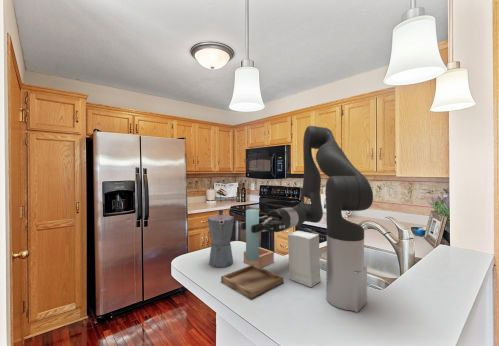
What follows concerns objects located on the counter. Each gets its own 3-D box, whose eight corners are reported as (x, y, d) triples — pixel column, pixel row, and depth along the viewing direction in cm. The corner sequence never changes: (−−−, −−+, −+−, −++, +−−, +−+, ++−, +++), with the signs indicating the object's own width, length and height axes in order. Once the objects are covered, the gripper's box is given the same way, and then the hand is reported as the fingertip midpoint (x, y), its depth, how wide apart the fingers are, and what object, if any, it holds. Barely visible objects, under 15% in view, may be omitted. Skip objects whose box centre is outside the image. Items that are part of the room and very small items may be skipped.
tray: (283, 283, 73) (283, 277, 73) (251, 299, 63) (251, 293, 63) (252, 269, 83) (252, 264, 83) (221, 282, 73) (221, 276, 73)
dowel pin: (261, 258, 73) (261, 210, 73) (252, 262, 70) (252, 212, 70) (252, 255, 76) (252, 208, 76) (243, 258, 73) (243, 210, 73)
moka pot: (209, 272, 80) (209, 213, 80) (206, 256, 95) (206, 206, 95) (236, 269, 82) (236, 212, 82) (229, 254, 97) (230, 205, 97)
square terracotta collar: (273, 262, 89) (273, 251, 89) (258, 268, 84) (258, 257, 83) (258, 256, 95) (258, 246, 95) (243, 262, 89) (243, 251, 89)
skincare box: (320, 281, 74) (321, 234, 73) (310, 288, 70) (310, 238, 69) (298, 273, 80) (298, 229, 80) (287, 279, 76) (287, 232, 75)
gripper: (267, 206, 88) (231, 212, 76) (299, 211, 78) (264, 219, 66) (267, 226, 88) (231, 235, 77) (299, 234, 78) (264, 246, 66)
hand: (247, 227), depth 71 cm, fingers closed on dowel pin, 4 cm apart
